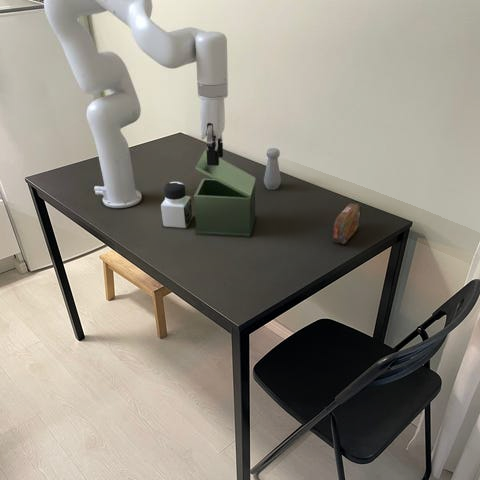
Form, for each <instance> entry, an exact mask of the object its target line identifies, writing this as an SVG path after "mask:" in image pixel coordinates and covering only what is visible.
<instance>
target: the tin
mask: <svg viewBox="0 0 480 480" xmlns="http://www.w3.org/2000/svg"><path fill="white" fill-rule="evenodd" d="M361 216H362V206H361V204H360V203H355V202H353V203H352V202H350V203H348V204H347V206H345V207H344V208H343V209H342V210H341V211H340V212H339V214H338V215H337V216H336V218H335V221H334V223H333V234H332V240H333V241H334V242H335V243H337V244H341V245H345V244H346V243H347V242H348V241H349V240H350V238H352V237H353V235H354V234H355V233H356V232H357V230H358V228H359V226H360V221H361Z"/></svg>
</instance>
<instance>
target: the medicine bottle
mask: <svg viewBox="0 0 480 480" xmlns="http://www.w3.org/2000/svg"><path fill="white" fill-rule="evenodd" d="M163 191H164V200H163V201H162V203H161V204H160V210H161V217H162V224H163V227H166V228H176V229H177V228H179V229H187V227H188V226H189V224H190V223H191V221H192V219H193V210H192V197H191V196H190V195H187V193H186V185H185V184H184V183H183V182H179V181H170V182H168V183H166V184H165V185H164V186H163Z"/></svg>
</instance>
